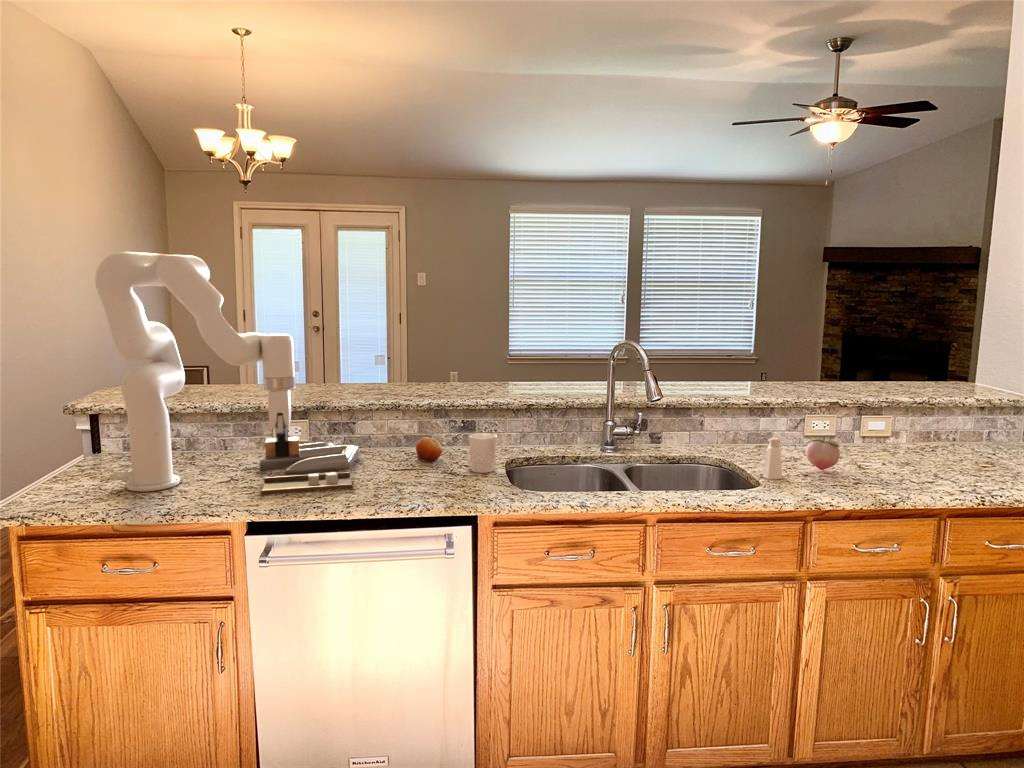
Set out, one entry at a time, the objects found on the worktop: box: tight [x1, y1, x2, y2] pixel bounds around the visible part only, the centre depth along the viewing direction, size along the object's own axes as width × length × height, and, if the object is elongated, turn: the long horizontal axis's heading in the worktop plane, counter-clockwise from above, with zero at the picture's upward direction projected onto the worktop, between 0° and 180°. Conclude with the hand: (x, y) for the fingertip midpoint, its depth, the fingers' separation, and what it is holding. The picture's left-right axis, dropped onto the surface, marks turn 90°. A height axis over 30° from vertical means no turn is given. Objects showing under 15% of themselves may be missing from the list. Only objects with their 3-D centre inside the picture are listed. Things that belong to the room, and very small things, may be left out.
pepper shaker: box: [762, 437, 783, 480], centre depth 196 cm, size 5×5×11 cm
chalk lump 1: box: [309, 473, 320, 486], centre depth 181 cm, size 2×2×2 cm
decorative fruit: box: [805, 436, 841, 471], centre depth 204 cm, size 9×8×10 cm
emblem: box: [259, 441, 360, 476], centre depth 202 cm, size 28×5×28 cm
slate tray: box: [260, 471, 353, 496], centre depth 181 cm, size 22×12×2 cm, turn 106°
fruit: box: [415, 436, 443, 463], centre depth 210 cm, size 8×8×8 cm
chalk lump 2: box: [324, 471, 338, 485], centre depth 183 cm, size 2×2×2 cm
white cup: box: [468, 432, 497, 474], centre depth 200 cm, size 8×8×10 cm
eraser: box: [264, 436, 300, 460], centre depth 178 cm, size 8×4×4 cm, turn 106°
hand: (282, 453), depth 178 cm, fingers closed on eraser, 4 cm apart
